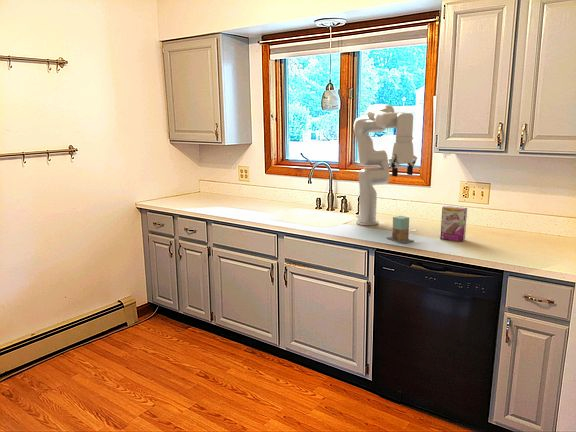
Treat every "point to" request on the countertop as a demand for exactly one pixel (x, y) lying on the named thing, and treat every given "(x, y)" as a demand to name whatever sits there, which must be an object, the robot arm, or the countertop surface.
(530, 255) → the countertop surface
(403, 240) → the mat
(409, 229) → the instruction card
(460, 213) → the candy bar box
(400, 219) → the teal block
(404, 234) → the walnut block
